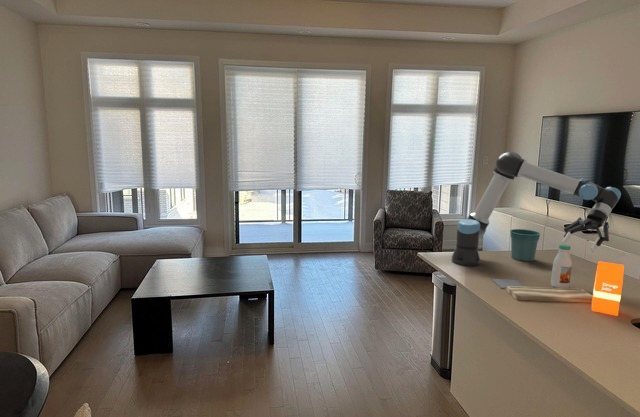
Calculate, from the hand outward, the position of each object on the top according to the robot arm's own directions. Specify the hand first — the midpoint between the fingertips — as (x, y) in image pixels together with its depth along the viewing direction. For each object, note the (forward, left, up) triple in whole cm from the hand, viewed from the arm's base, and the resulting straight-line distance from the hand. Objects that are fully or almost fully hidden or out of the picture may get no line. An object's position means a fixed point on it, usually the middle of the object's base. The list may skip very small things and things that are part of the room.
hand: (577, 246), depth 201 cm
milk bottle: (+4, -8, -19) cm, 21 cm away
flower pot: (-44, -4, -19) cm, 48 cm away
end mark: (+4, -32, -18) cm, 38 cm away
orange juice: (+32, -5, -19) cm, 38 cm away
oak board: (+18, -20, -18) cm, 33 cm away
